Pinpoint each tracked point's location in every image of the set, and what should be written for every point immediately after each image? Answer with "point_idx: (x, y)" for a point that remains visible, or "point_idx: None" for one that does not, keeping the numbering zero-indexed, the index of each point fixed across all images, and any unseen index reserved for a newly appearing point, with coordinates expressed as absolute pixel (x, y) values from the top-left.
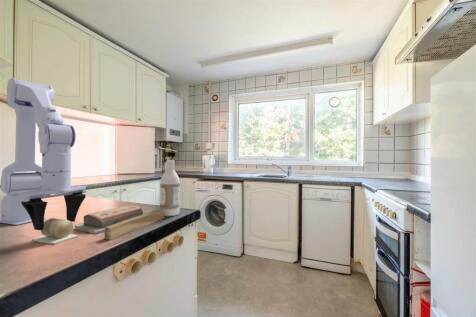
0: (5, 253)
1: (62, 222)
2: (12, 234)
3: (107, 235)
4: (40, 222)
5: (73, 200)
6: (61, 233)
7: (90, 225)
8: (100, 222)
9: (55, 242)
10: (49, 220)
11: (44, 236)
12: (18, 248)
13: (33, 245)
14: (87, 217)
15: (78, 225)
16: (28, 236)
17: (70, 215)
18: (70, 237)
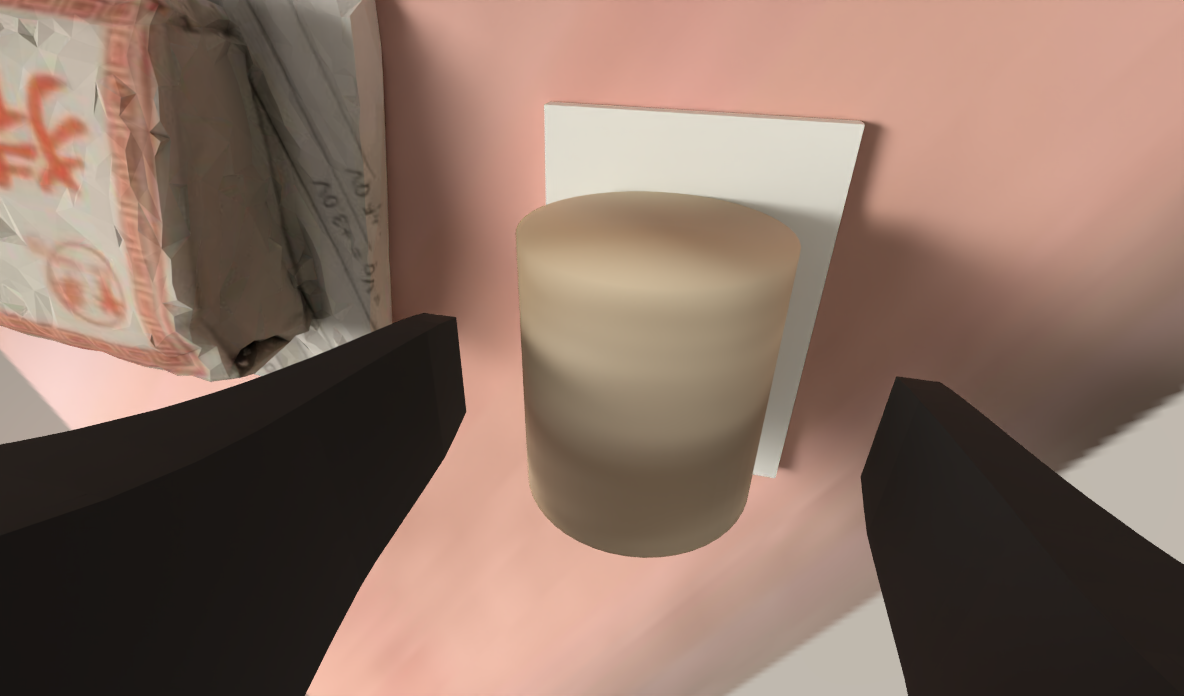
0: (1170, 393)
1: (676, 279)
2: (683, 679)
3: None
4: (1022, 449)
5: (164, 611)
6: (704, 217)
7: (283, 230)
8: (180, 9)
9: (850, 132)
10: (672, 517)
11: None
12: (1008, 401)
13: (907, 340)
14: (227, 310)
15: None
16: (689, 566)
17: (413, 414)
18: (637, 126)
